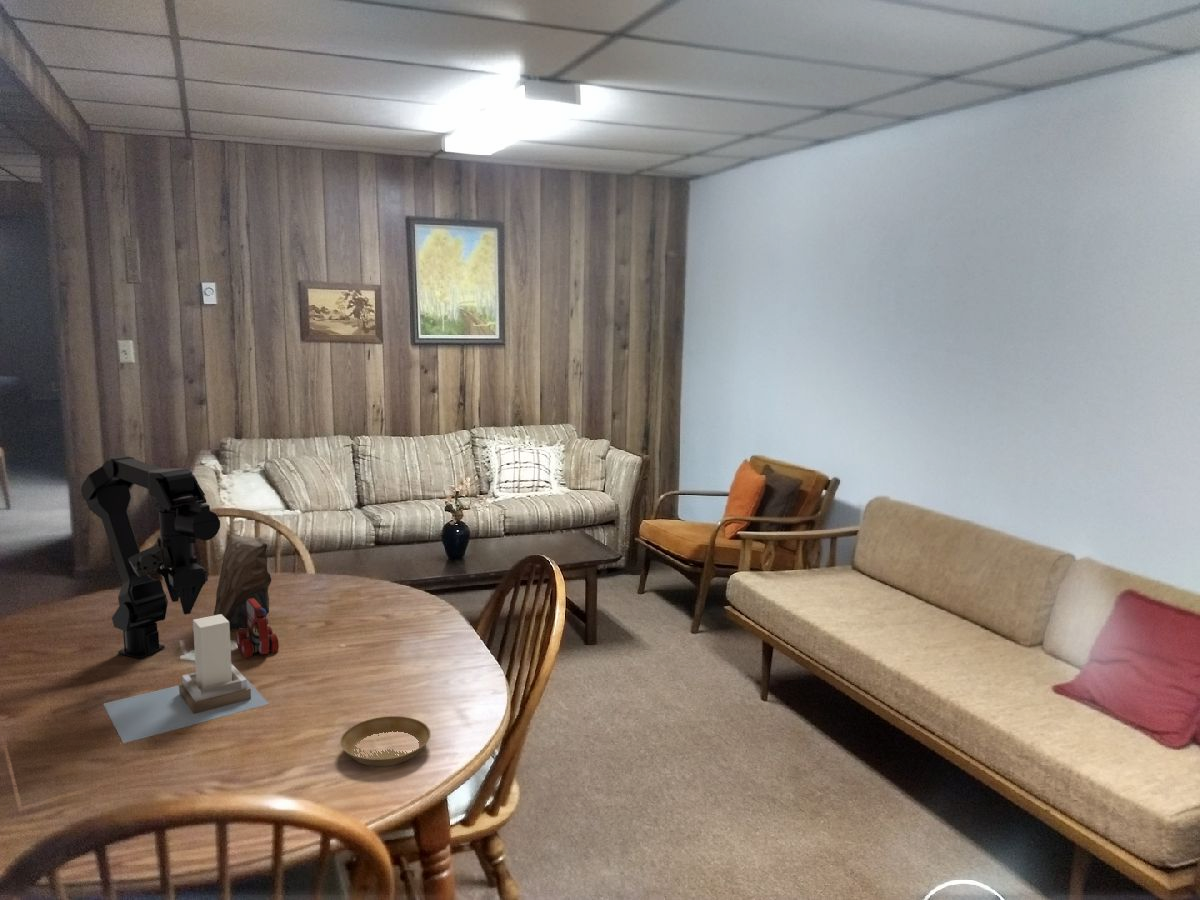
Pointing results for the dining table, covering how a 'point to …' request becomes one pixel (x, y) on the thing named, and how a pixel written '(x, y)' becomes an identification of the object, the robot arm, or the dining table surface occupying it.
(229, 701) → the brown open tray
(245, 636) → the toy fire truck
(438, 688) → the dining table surface
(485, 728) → the dining table surface
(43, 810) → the dining table surface
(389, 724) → the plant saucer
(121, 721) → the blue-gray board
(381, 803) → the dining table surface
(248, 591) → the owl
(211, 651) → the cream post
